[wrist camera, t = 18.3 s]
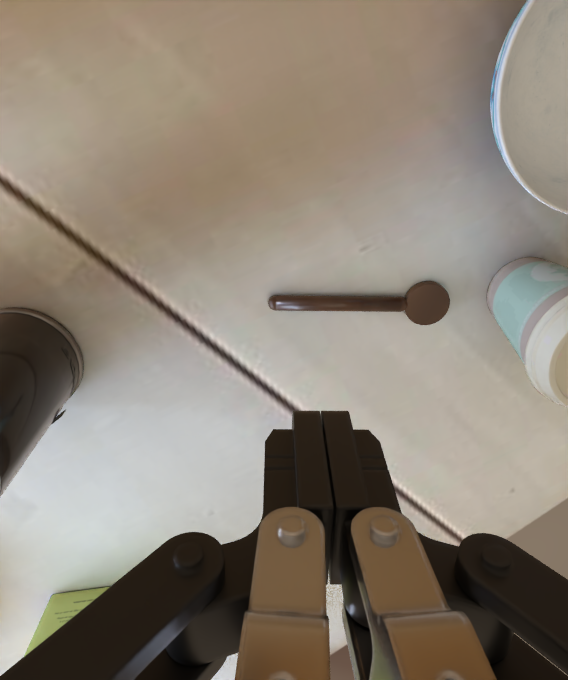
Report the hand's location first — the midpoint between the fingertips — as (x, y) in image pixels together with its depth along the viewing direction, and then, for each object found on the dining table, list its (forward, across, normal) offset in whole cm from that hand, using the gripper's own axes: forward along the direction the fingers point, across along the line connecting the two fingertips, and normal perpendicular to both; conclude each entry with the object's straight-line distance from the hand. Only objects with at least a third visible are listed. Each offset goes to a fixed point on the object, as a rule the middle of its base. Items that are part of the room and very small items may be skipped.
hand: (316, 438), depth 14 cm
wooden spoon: (+27, -6, +6) cm, 28 cm away
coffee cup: (+27, -19, +6) cm, 34 cm away
